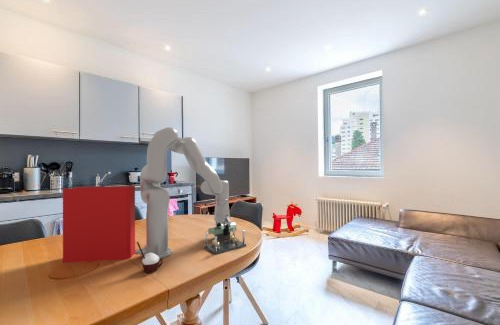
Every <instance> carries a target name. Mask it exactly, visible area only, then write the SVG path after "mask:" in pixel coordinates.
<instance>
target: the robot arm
mask: <svg viewBox="0 0 500 325" xmlns="http://www.w3.org/2000/svg"><path fill="white" fill-rule="evenodd" d="M168 151H170V152H173V153H177V154H180V155H181V154H182V155H184V157H185V159H186V161H187V163H188V165H189V167H190V168H191V170H192V171H194V173H196V174H198V175H200V177H202V179H204V181H203V182H202V183H201V184H200V190H201V192H202V193H203V194H205V195H212V196H215V206H214V215H213V216H214V217H213V218H214V219H213V220H214V221H216V225H217V226H216V227H219V226H222V225H221V224H223V226H224V228H223V235H224V236H226V235H229V226H230V224H231V222H232V221H231V216H230V214H231V213H230V206H229V204H230V186H229V185H230V183H229V181H228V180H225V179H224V180H223V179H220V177H219V175H218V173H217V171H215V169H214V168H213V167H212V166H211V165H210V164H209V163H208V162H207V161H206V159H205V156H204V154H203V152H202V150H201V148H200V146H199V145H198V143H197V140H196V139H194V138H193V137H191V136H190V137H189V136H187V137H186V136H185V137H179V134H178V131H177V130H176V129H175V128H173V127H164V128H162V129H159V130H157V131H155V133H154V134H153V137H152V138H151V140H150V141H149V142H148V145H147V150H146V164H145V165H144V166H143V167H142V169H141V171H140V178H139V180H140V181H139V182H140V187H139V188H140V189H139V190H140V198H141V200H142V202H143V203H144V204H146V206H147V207H146V216H145V225H146V226H145V228H146V229H145V230H146V231H145V232H146V234H145V237H146V238H145V241H146V242H145V245H144V247H142V248H141V250H142V252H143V254H144V256H145V255H146V254H147V253H154V254H156V255H157V256H158V257H159V260H161V259H163V258H167V257H169V256H171V254H172V252H173V251H172V249H171V248H170V247H169V206H170V199H171V198H170V194H169V192H168V190H167V189H166V188H164V187H162V186H161V184H163V182H165V180H166V179H167V175H168V174H167V153H168ZM225 224H226V226H225ZM134 255H140V256H141V255H142V253H141V251H140V249H138V248H137V249H135V254H134Z"/></svg>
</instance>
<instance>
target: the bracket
mask: <svg viewBox="0 0 500 325" xmlns="http://www.w3.org/2000/svg"><path fill="white" fill-rule="evenodd" d="M214 221H215V220H214ZM221 225H222V226H223V224H221ZM225 225H226V224H225ZM230 225H232V226H235V227H236V230H237V222H235V221H234V222H233V221H231V224H230ZM216 226H217V225H216V221H215V223H214V227H216Z"/></svg>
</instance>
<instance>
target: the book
mask: <svg viewBox="0 0 500 325" xmlns="http://www.w3.org/2000/svg"><path fill="white" fill-rule="evenodd" d="M135 250H136V186H135V185H112V186H110V185H109V186H108V185H107V186H106V185H103V186H100V185H99V186H74V188H72V187H71V188H62V263H79V262H80V263H81V262H82V263H84V262H99V261H100V262H102V261H120V260H129V259H131V258H132V257H133V256H135V255H136V254H135Z"/></svg>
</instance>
